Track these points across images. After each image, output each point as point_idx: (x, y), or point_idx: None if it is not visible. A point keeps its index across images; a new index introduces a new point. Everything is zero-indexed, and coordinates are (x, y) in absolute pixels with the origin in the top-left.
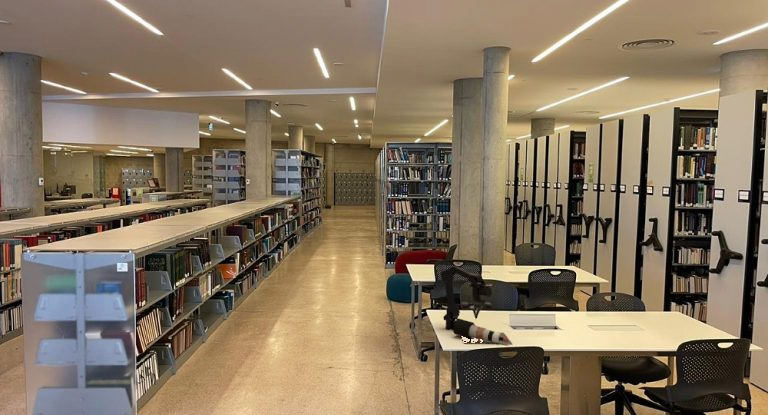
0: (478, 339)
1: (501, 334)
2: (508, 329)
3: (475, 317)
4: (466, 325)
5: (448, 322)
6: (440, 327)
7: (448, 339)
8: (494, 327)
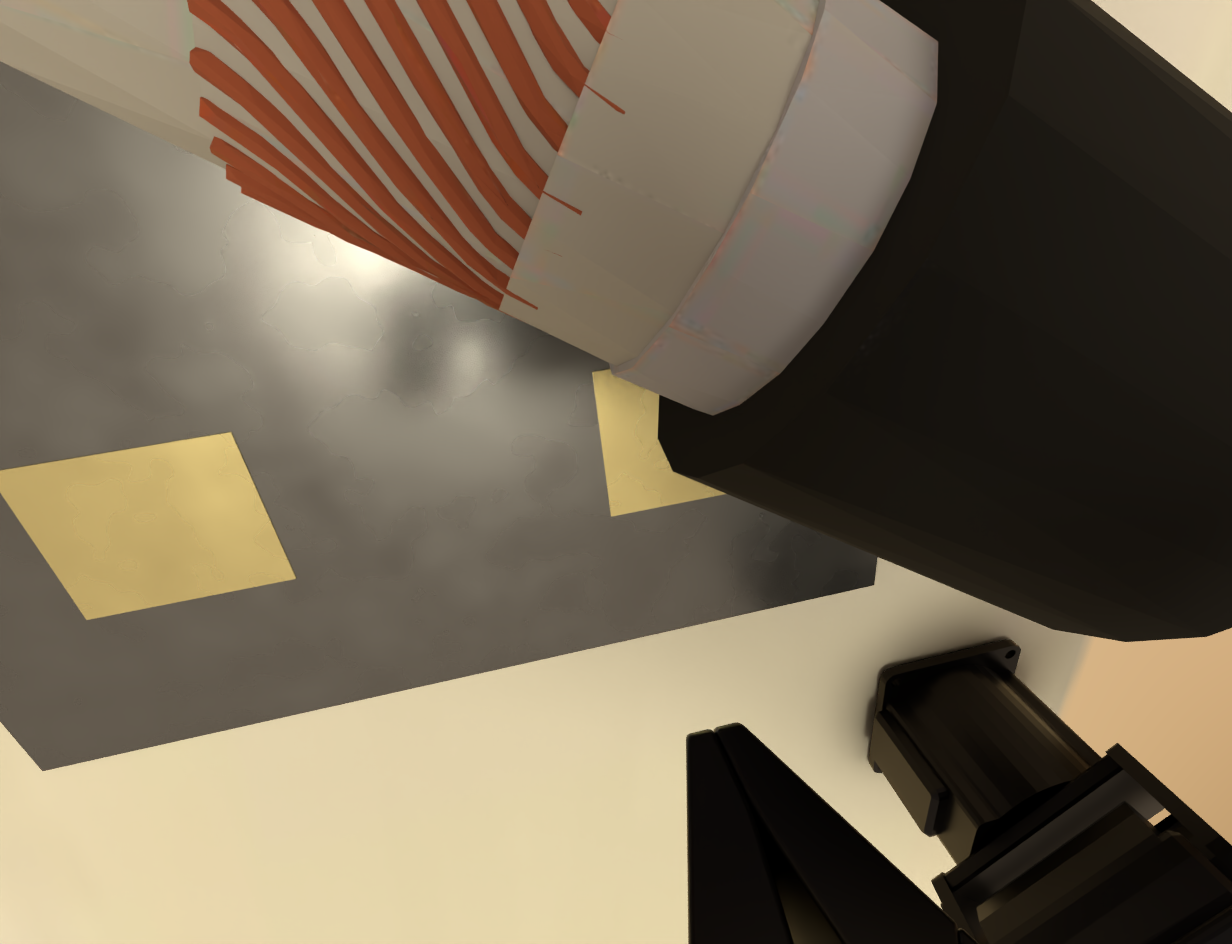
0: None
1: (45, 651)
2: (21, 934)
3: (765, 760)
4: (1150, 60)
5: (1068, 748)
6: None
7: (1192, 51)
8: (291, 935)
